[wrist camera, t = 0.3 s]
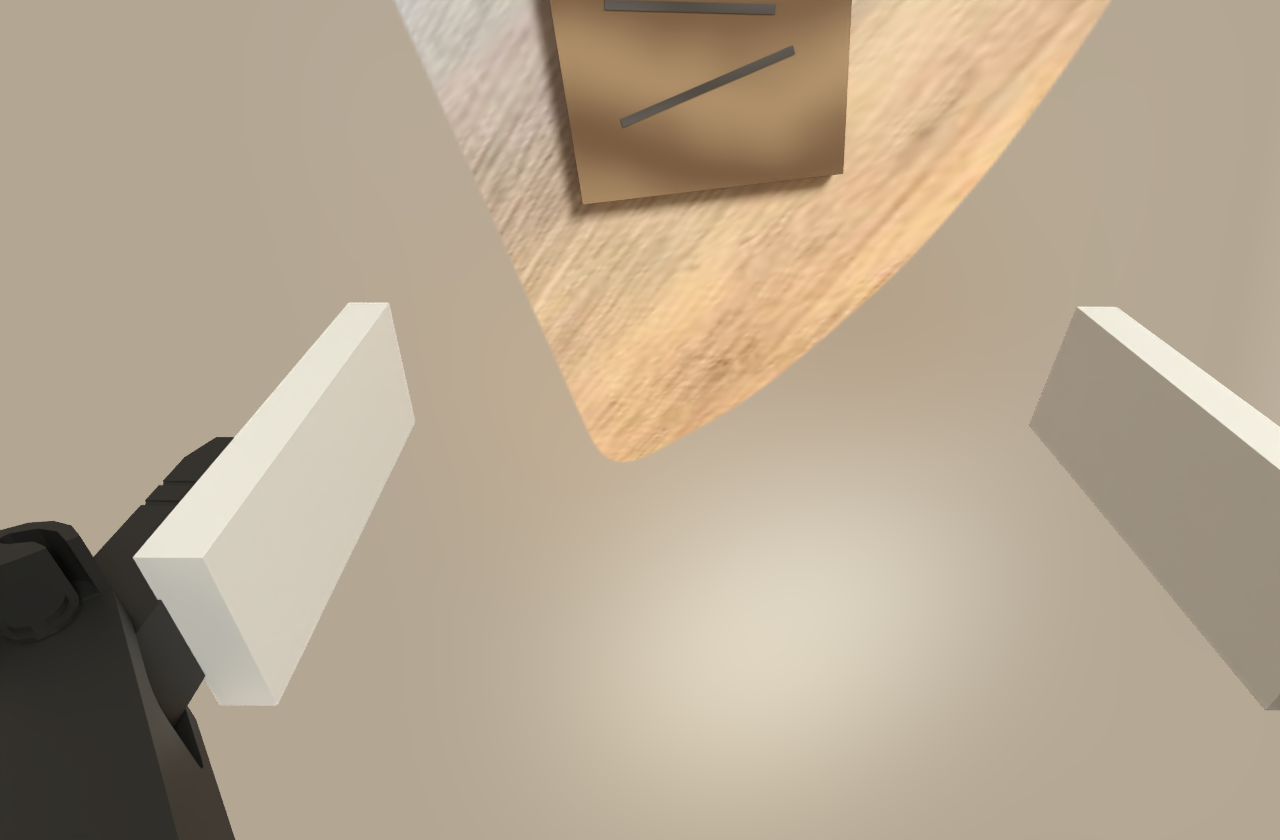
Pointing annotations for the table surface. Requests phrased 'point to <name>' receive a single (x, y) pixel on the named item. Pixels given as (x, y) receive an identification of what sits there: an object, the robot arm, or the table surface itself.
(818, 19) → the board
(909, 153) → the table surface
